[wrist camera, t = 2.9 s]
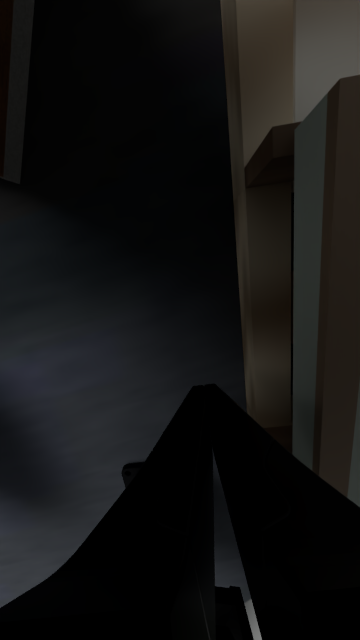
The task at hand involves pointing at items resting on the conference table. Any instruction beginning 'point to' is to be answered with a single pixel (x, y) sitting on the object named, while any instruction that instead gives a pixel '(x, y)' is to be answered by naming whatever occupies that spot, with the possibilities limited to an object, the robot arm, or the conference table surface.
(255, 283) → the cardboard tray
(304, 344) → the lid
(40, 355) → the conference table surface
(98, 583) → the robot arm
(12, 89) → the tall white pillar
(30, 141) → the conference table surface
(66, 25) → the conference table surface
